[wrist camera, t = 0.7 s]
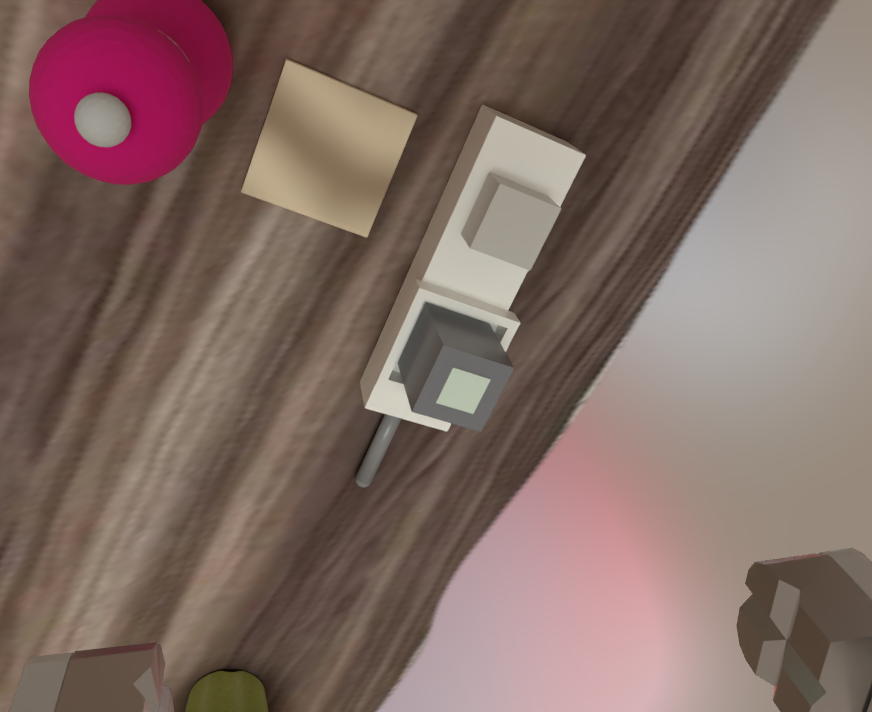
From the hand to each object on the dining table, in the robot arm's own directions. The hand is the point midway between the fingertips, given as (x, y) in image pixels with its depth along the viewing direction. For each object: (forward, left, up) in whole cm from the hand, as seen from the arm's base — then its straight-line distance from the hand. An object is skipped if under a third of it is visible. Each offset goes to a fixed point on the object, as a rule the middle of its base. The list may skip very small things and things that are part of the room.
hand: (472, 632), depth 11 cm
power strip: (+10, +12, -40) cm, 44 cm away
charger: (+11, +12, -37) cm, 40 cm away
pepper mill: (+1, -9, -41) cm, 42 cm away
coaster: (+3, +1, -41) cm, 41 cm away
